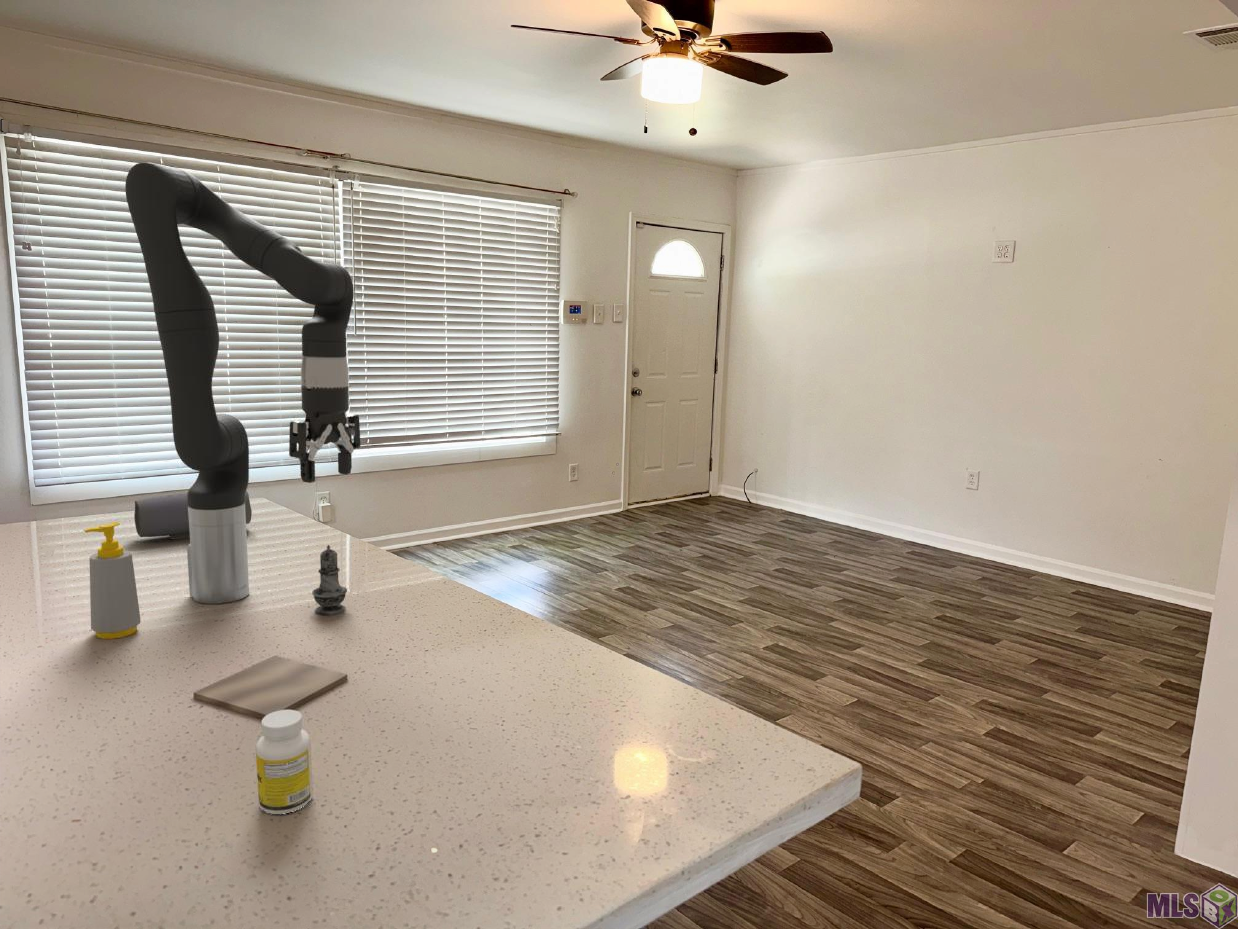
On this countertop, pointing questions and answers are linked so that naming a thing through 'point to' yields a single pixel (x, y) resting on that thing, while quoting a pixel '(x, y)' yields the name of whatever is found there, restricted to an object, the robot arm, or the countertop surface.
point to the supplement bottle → (283, 763)
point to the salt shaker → (329, 586)
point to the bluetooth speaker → (168, 516)
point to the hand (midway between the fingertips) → (326, 477)
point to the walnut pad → (270, 687)
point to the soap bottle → (112, 588)
